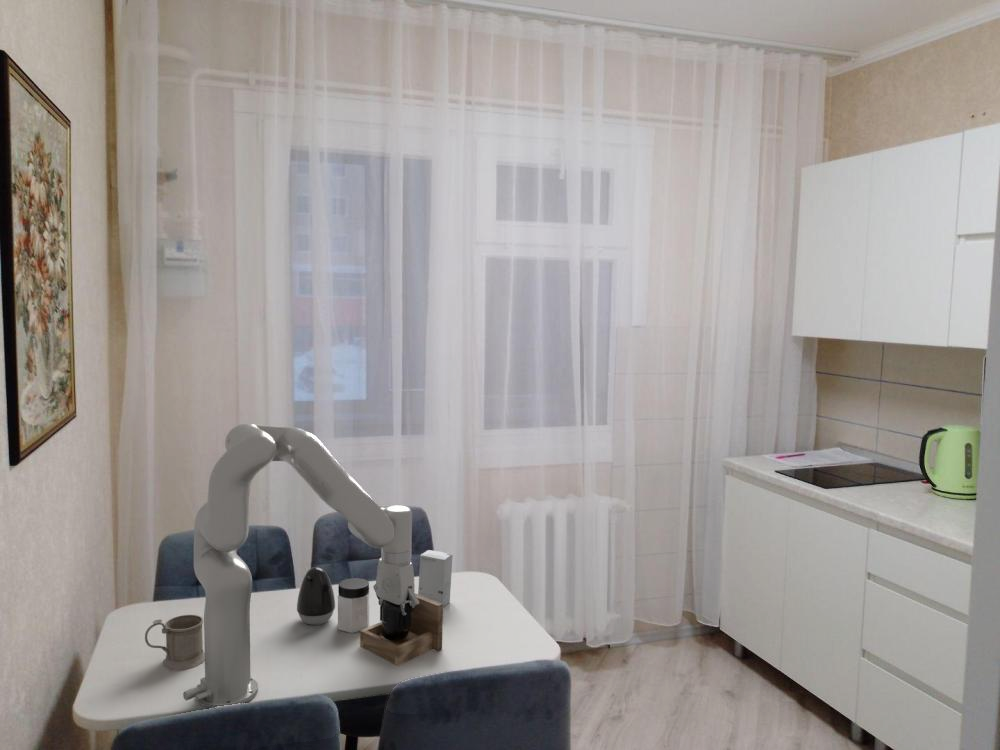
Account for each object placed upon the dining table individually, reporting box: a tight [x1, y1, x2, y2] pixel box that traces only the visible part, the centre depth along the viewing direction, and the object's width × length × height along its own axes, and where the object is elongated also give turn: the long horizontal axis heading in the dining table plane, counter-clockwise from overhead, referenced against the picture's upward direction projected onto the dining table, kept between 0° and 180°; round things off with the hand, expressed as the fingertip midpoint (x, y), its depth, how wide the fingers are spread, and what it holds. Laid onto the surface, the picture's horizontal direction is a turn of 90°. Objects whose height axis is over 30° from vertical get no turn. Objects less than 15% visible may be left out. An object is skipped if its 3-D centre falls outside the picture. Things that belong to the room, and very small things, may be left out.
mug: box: [144, 614, 205, 671], centre depth 179 cm, size 14×10×12 cm
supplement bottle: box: [381, 600, 409, 641], centre depth 189 cm, size 7×7×12 cm
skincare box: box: [417, 549, 454, 608], centre depth 218 cm, size 8×6×15 cm
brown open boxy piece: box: [359, 592, 444, 667], centre depth 190 cm, size 13×18×12 cm
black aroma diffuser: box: [296, 566, 336, 626], centre depth 204 cm, size 10×10×15 cm
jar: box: [337, 577, 370, 634], centre depth 202 cm, size 9×8×12 cm
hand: (395, 623), depth 189 cm, fingers closed on supplement bottle, 6 cm apart
